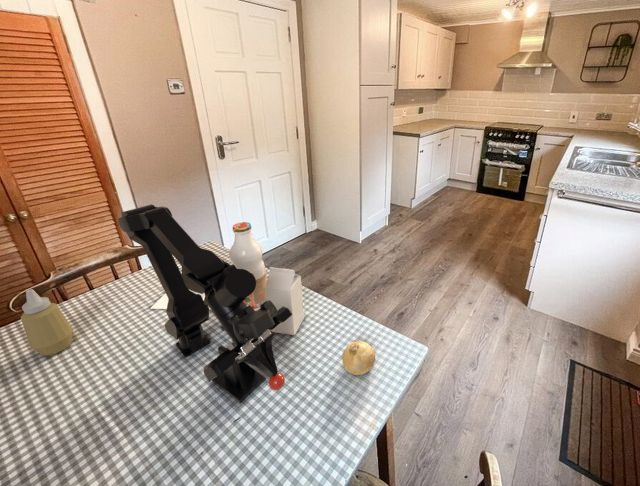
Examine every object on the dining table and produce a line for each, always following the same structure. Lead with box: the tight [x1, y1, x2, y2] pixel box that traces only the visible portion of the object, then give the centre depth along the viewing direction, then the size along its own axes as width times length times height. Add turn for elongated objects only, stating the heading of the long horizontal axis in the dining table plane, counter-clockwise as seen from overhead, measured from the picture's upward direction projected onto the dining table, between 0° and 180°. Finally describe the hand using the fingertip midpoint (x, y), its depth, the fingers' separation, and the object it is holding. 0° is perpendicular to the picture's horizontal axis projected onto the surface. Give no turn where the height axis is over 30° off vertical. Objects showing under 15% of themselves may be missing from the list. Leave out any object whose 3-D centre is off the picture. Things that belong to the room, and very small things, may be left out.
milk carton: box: [265, 267, 305, 336], centre depth 84 cm, size 7×7×19 cm
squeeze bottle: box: [20, 288, 74, 357], centre depth 76 cm, size 8×8×18 cm
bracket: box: [211, 339, 267, 404], centre depth 69 cm, size 10×8×11 cm
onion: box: [341, 340, 376, 376], centre depth 73 cm, size 8×8×7 cm
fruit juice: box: [228, 221, 268, 311], centre depth 90 cm, size 9×9×28 cm
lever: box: [225, 341, 286, 391], centre depth 65 cm, size 16×3×3 cm, turn 59°
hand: (275, 374), depth 61 cm, fingers closed
